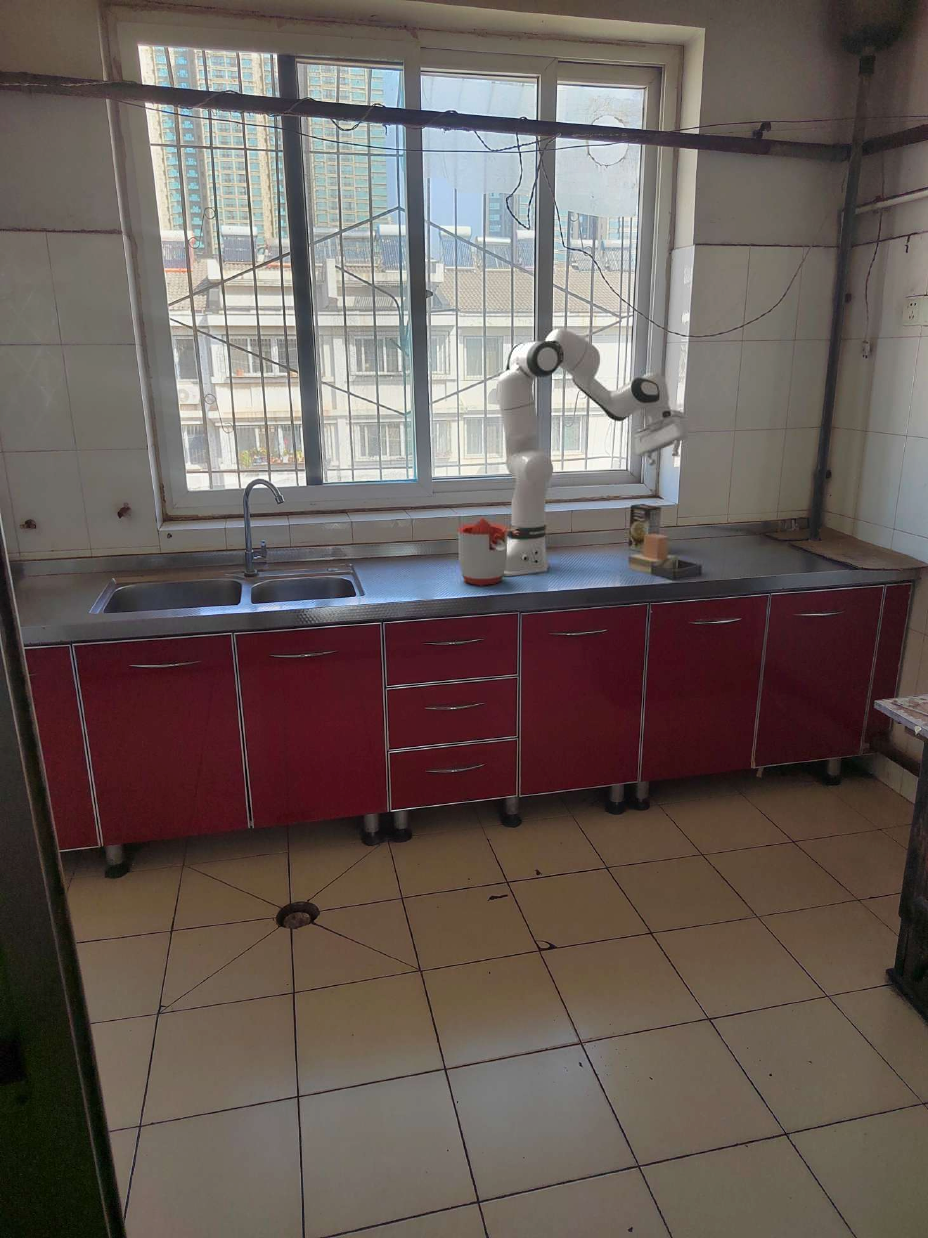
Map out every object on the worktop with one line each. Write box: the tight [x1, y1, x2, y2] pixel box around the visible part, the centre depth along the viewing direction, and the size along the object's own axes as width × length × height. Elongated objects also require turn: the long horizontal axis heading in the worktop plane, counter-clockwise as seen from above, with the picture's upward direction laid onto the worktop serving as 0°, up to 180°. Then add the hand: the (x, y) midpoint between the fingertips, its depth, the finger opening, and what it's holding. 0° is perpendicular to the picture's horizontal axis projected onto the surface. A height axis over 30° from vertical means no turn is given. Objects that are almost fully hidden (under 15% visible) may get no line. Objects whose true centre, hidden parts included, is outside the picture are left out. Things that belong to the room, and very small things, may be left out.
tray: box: [650, 558, 703, 581], centre depth 259 cm, size 13×9×3 cm
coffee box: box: [628, 503, 662, 553], centre depth 290 cm, size 9×6×16 cm
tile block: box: [642, 533, 670, 560], centre depth 265 cm, size 5×6×7 cm
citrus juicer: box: [457, 518, 509, 586], centre depth 251 cm, size 16×17×20 cm
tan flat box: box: [627, 552, 678, 575], centre depth 267 cm, size 12×10×4 cm
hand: (663, 460), depth 270 cm, fingers open, 8 cm apart
